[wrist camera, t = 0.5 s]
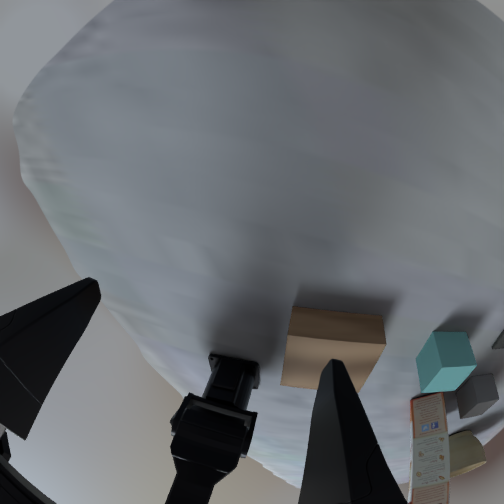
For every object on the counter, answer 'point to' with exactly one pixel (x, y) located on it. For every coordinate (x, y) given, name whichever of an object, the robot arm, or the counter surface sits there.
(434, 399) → the cracker box
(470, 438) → the planter bowl
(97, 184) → the counter surface
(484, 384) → the charcoal cube
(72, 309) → the robot arm
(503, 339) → the tile
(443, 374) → the teal cube
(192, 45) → the counter surface
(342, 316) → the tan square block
